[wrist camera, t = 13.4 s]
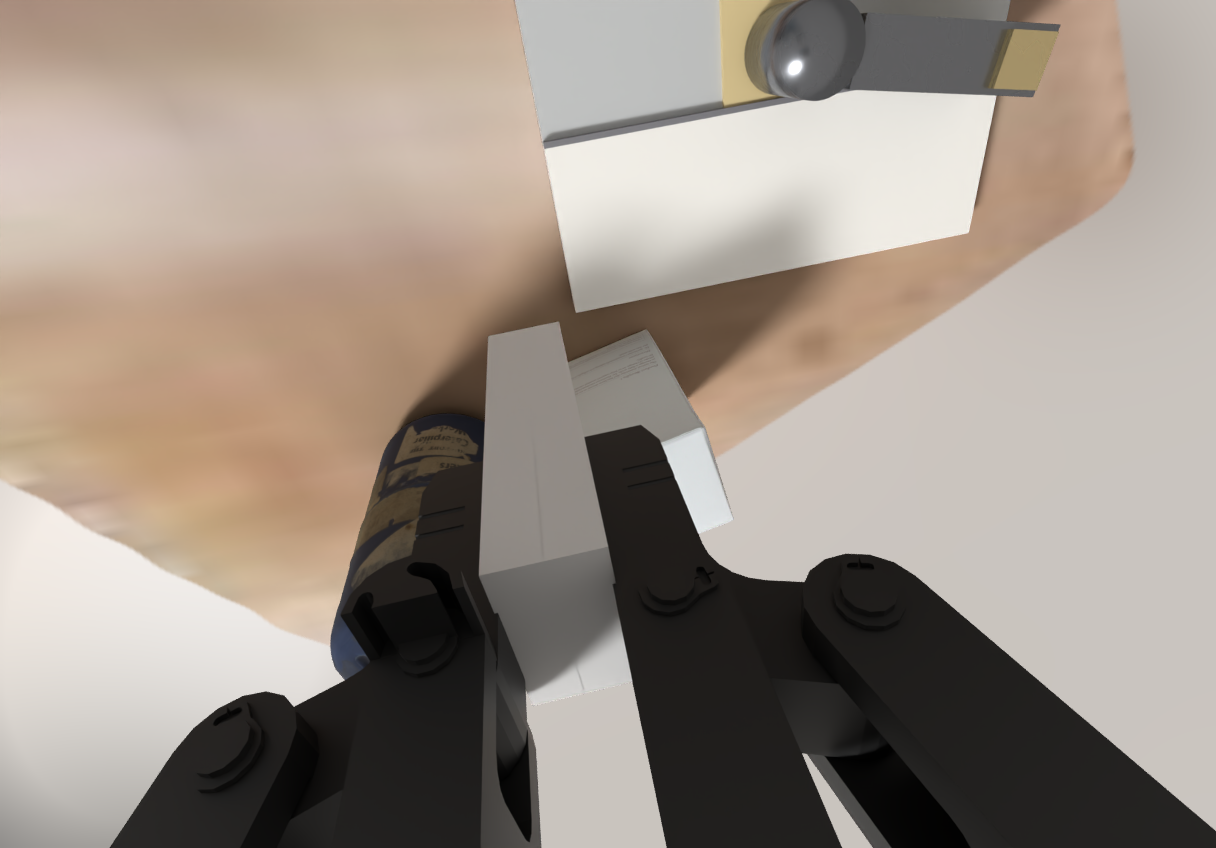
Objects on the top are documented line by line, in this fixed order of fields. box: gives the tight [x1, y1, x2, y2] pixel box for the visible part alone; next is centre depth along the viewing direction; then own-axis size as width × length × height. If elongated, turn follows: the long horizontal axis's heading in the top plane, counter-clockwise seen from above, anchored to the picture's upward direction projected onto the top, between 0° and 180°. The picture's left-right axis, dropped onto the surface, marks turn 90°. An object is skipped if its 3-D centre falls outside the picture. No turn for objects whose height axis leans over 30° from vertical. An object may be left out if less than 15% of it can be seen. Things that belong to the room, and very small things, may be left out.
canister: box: [331, 414, 485, 680], centre depth 35 cm, size 10×10×18 cm
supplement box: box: [568, 329, 734, 534], centre depth 36 cm, size 7×7×13 cm
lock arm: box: [744, 0, 1060, 101], centre depth 29 cm, size 14×4×5 cm, turn 88°
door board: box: [515, 0, 1010, 313], centre depth 31 cm, size 18×26×4 cm
